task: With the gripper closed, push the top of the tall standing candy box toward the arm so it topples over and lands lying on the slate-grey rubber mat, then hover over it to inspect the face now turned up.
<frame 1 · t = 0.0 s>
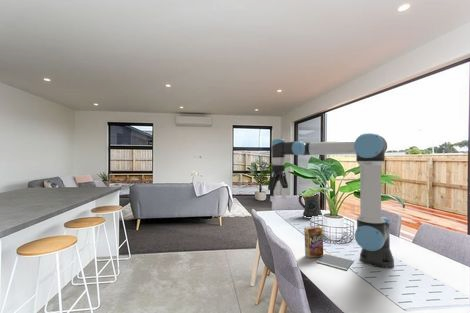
hand: (278, 200, 145), 28 cm above the table, fingers open, 13 cm apart
beer stein: (311, 217, 219), on the table
mat: (335, 261, 123), on the table
candy box: (314, 256, 130), on the table, touching mat
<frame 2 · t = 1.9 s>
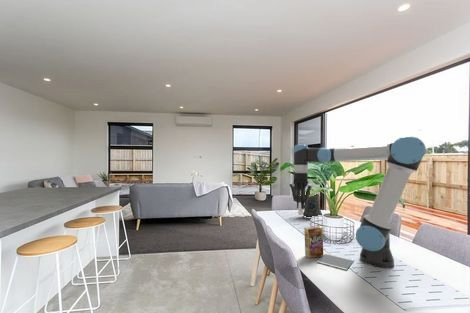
hand: (300, 214, 135), 22 cm above the table, fingers closed
nothing on the table moved.
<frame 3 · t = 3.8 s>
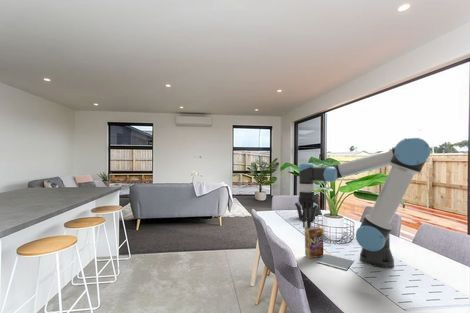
hand: (306, 234, 133), 11 cm above the table, fingers closed
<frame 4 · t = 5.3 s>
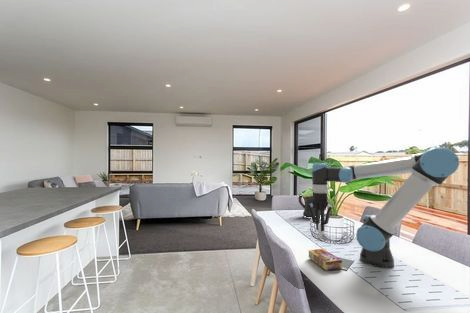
hand: (320, 236, 128), 11 cm above the table, fingers closed
candy box: (315, 253, 128), point 2 cm above the table, touching mat
everything else where it was.
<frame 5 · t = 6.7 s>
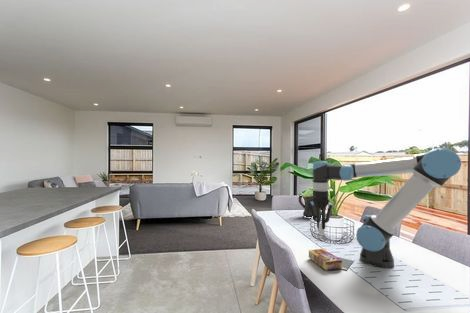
hand: (321, 234, 128), 12 cm above the table, fingers closed
nothing on the table moved.
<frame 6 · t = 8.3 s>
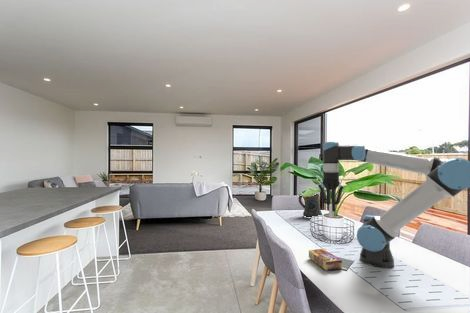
hand: (331, 217, 125), 22 cm above the table, fingers closed
nothing on the table moved.
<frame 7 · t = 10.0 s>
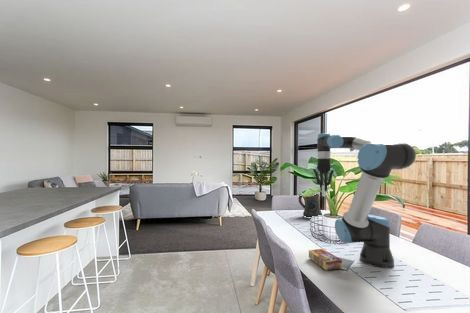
hand: (323, 196, 150), 30 cm above the table, fingers closed
nothing on the table moved.
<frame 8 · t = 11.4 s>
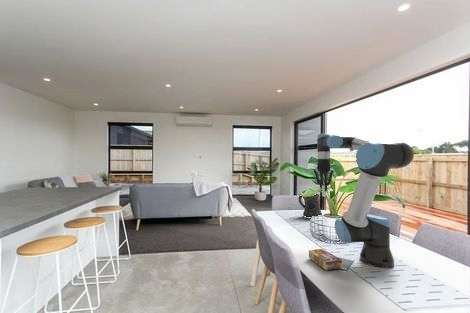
hand: (324, 196, 151), 29 cm above the table, fingers closed
nothing on the table moved.
at the end: candy box tilted 89°; candy box inside the target area (5.0 cm from its centre), point 2.4 cm above the table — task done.
